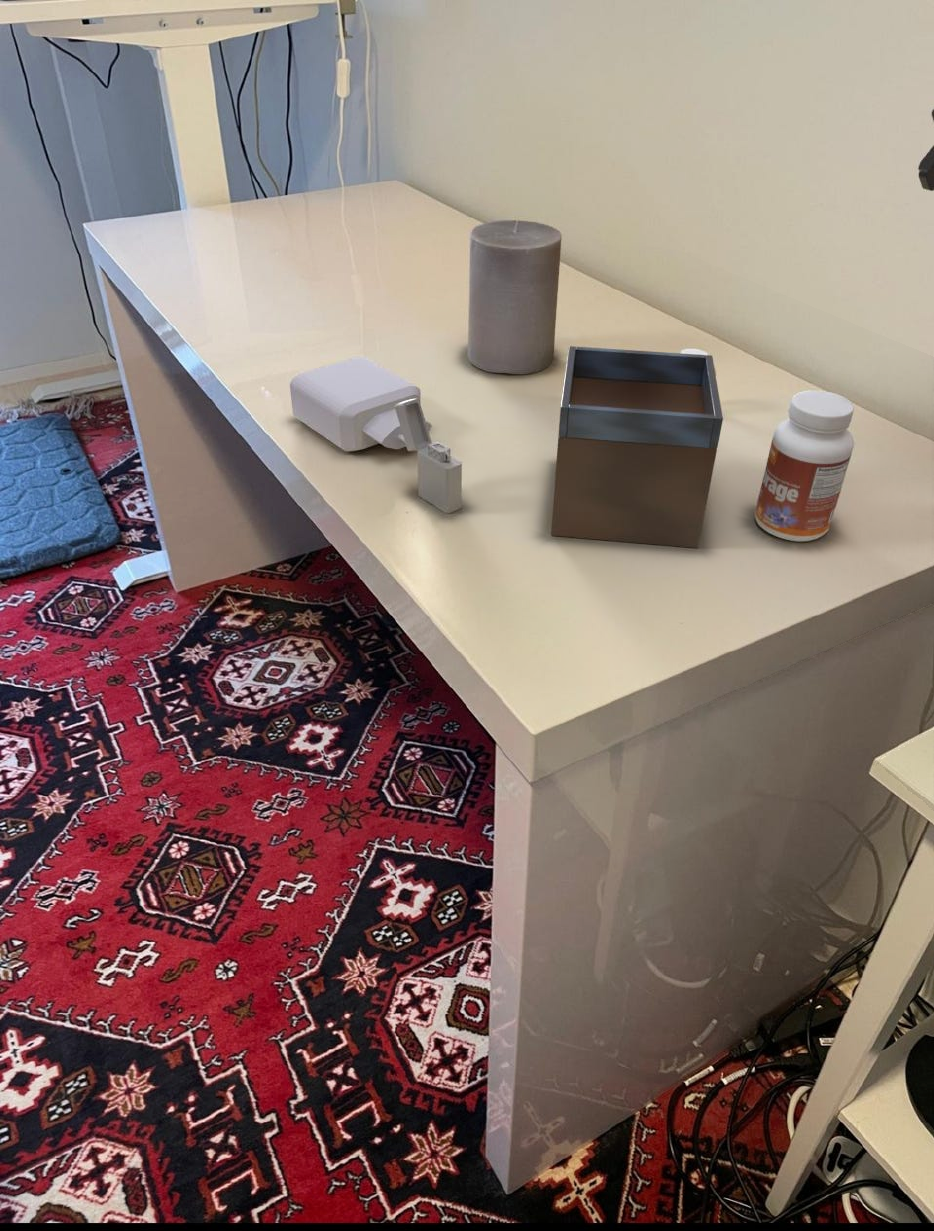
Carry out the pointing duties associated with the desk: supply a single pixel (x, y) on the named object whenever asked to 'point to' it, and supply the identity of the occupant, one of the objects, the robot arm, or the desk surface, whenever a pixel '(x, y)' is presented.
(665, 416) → the cube pen cup
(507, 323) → the pillar candle
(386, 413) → the charger
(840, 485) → the pill bottle
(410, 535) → the desk surface
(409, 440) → the lighter
